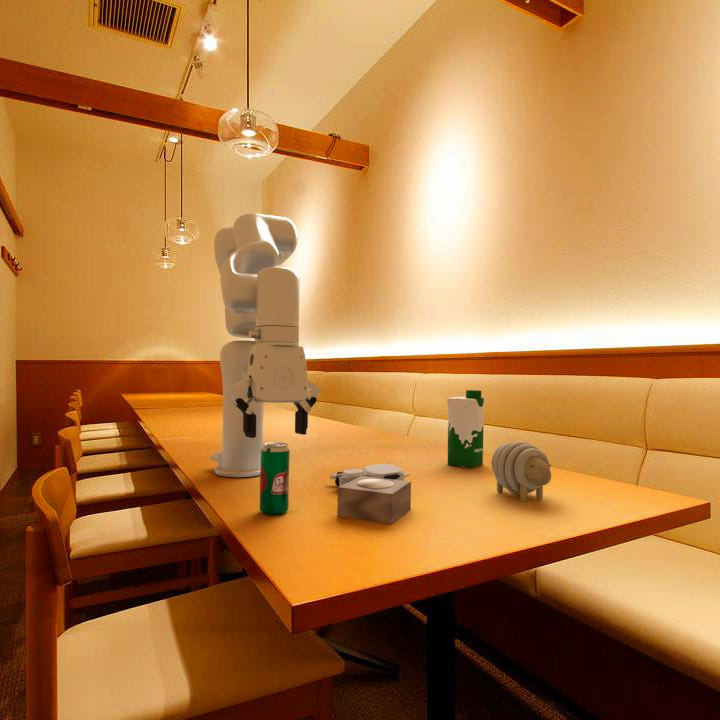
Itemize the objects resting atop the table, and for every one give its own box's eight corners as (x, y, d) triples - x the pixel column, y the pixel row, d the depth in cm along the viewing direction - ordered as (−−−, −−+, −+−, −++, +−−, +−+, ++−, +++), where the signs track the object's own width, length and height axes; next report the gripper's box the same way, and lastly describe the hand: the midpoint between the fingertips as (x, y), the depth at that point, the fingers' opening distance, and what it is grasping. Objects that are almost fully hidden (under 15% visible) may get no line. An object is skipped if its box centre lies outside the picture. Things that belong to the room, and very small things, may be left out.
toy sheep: (527, 508, 94) (528, 449, 94) (471, 488, 109) (472, 436, 109) (569, 503, 98) (570, 446, 98) (509, 484, 113) (510, 434, 114)
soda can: (275, 518, 85) (276, 447, 85) (253, 513, 88) (254, 444, 88) (294, 511, 89) (295, 443, 90) (272, 506, 92) (274, 441, 92)
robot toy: (344, 503, 99) (413, 492, 104) (343, 480, 99) (412, 470, 104) (327, 488, 111) (390, 479, 116) (326, 468, 111) (389, 459, 116)
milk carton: (474, 469, 129) (475, 391, 129) (442, 464, 134) (443, 390, 134) (487, 464, 136) (488, 390, 136) (456, 460, 141) (457, 389, 141)
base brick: (337, 515, 87) (337, 485, 87) (360, 502, 96) (361, 474, 96) (391, 524, 83) (392, 492, 83) (410, 508, 92) (411, 480, 92)
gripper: (238, 334, 81) (237, 441, 80) (330, 339, 91) (329, 434, 90) (222, 337, 87) (220, 436, 86) (309, 341, 97) (308, 430, 96)
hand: (276, 435), depth 88 cm, fingers open, 9 cm apart
